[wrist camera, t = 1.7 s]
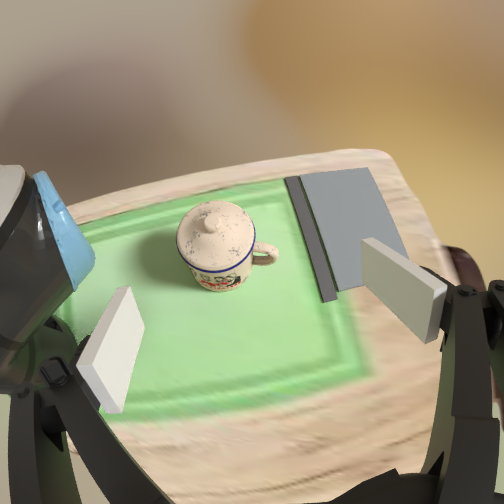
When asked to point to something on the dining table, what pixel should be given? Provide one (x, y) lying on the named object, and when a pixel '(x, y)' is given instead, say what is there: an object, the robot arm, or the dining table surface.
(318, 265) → the black line strip
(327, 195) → the slate mat
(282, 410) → the dining table surface
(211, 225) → the teacup with lid
